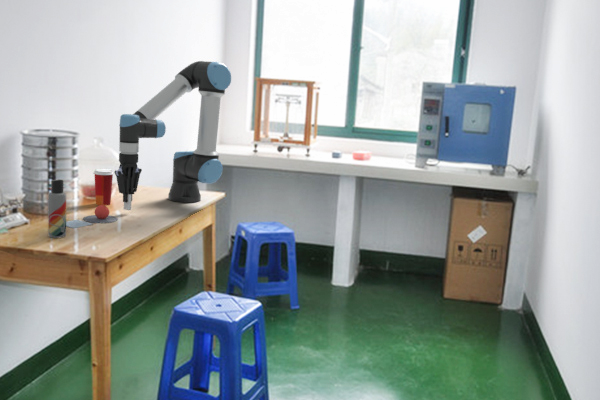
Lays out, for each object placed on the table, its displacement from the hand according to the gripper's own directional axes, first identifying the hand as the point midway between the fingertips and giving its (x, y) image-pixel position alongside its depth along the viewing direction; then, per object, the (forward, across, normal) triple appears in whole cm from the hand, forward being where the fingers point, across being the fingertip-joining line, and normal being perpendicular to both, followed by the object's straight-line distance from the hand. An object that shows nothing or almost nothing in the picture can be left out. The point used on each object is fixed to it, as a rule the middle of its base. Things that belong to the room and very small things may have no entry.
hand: (127, 209), depth 248 cm
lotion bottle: (+2, +41, +9) cm, 42 cm away
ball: (-1, +13, 0) cm, 13 cm away
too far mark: (+2, +26, 0) cm, 26 cm away
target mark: (+2, +14, 0) cm, 14 cm away
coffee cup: (+2, -5, -20) cm, 21 cm away
